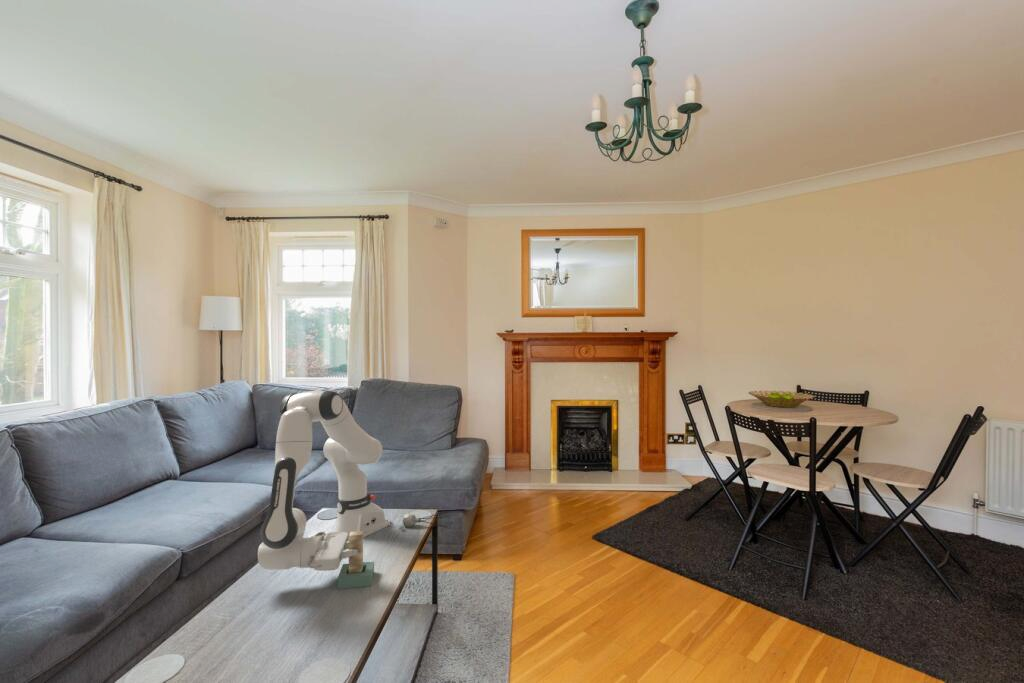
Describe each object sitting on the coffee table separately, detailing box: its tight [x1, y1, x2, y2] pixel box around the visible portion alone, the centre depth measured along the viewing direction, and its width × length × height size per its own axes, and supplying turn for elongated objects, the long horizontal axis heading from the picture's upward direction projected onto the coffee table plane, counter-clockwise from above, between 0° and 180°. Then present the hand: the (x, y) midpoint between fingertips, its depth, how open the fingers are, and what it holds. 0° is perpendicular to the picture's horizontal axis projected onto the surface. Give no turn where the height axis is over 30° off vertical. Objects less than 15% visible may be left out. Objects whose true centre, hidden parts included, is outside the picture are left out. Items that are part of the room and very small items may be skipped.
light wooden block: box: [348, 531, 364, 573], centre depth 145 cm, size 4×3×12 cm
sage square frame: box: [337, 561, 375, 590], centre depth 145 cm, size 10×9×4 cm
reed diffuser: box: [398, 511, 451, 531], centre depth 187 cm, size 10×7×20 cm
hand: (358, 548), depth 145 cm, fingers closed on light wooden block, 3 cm apart
